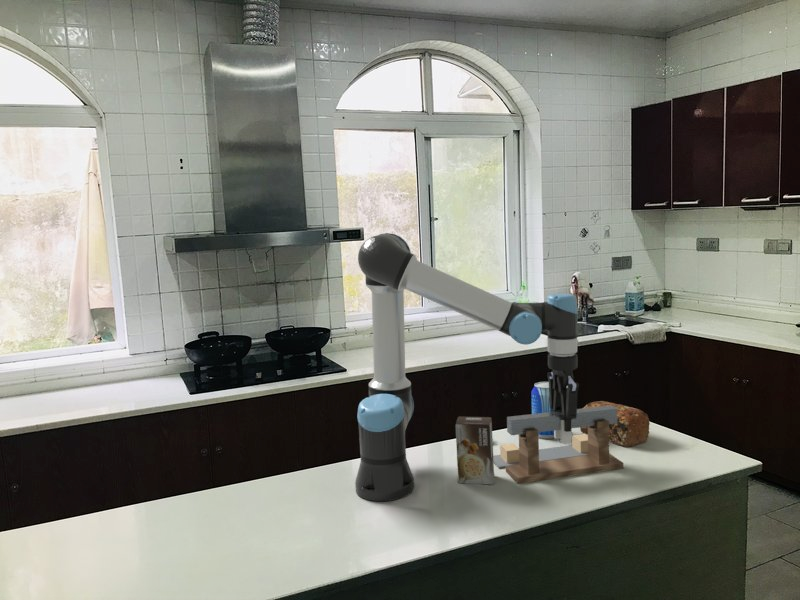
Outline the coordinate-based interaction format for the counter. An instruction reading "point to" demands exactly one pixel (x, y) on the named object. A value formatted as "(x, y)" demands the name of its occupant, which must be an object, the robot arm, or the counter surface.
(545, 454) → the slate mat with oak rests
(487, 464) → the coffee box
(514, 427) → the steel rail
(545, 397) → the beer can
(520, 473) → the walnut rack
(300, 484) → the counter surface
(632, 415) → the bread
